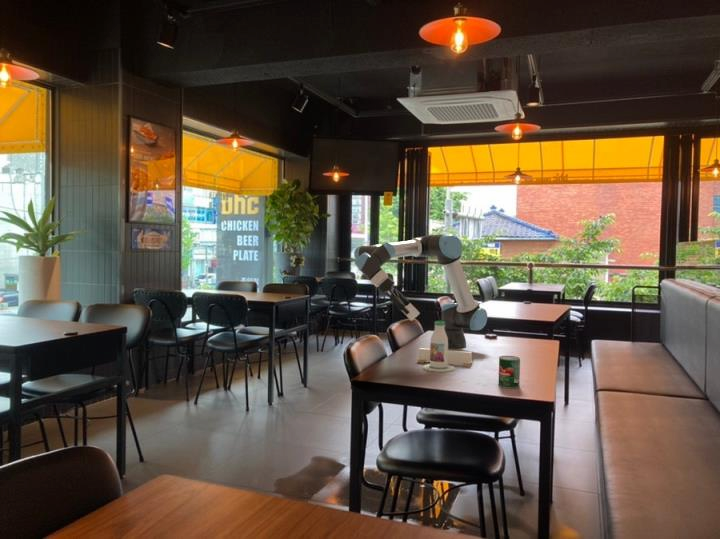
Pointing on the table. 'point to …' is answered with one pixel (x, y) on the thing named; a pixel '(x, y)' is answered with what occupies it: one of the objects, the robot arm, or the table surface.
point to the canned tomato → (509, 371)
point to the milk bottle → (439, 346)
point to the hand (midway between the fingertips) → (416, 317)
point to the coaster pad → (447, 369)
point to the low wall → (453, 357)
